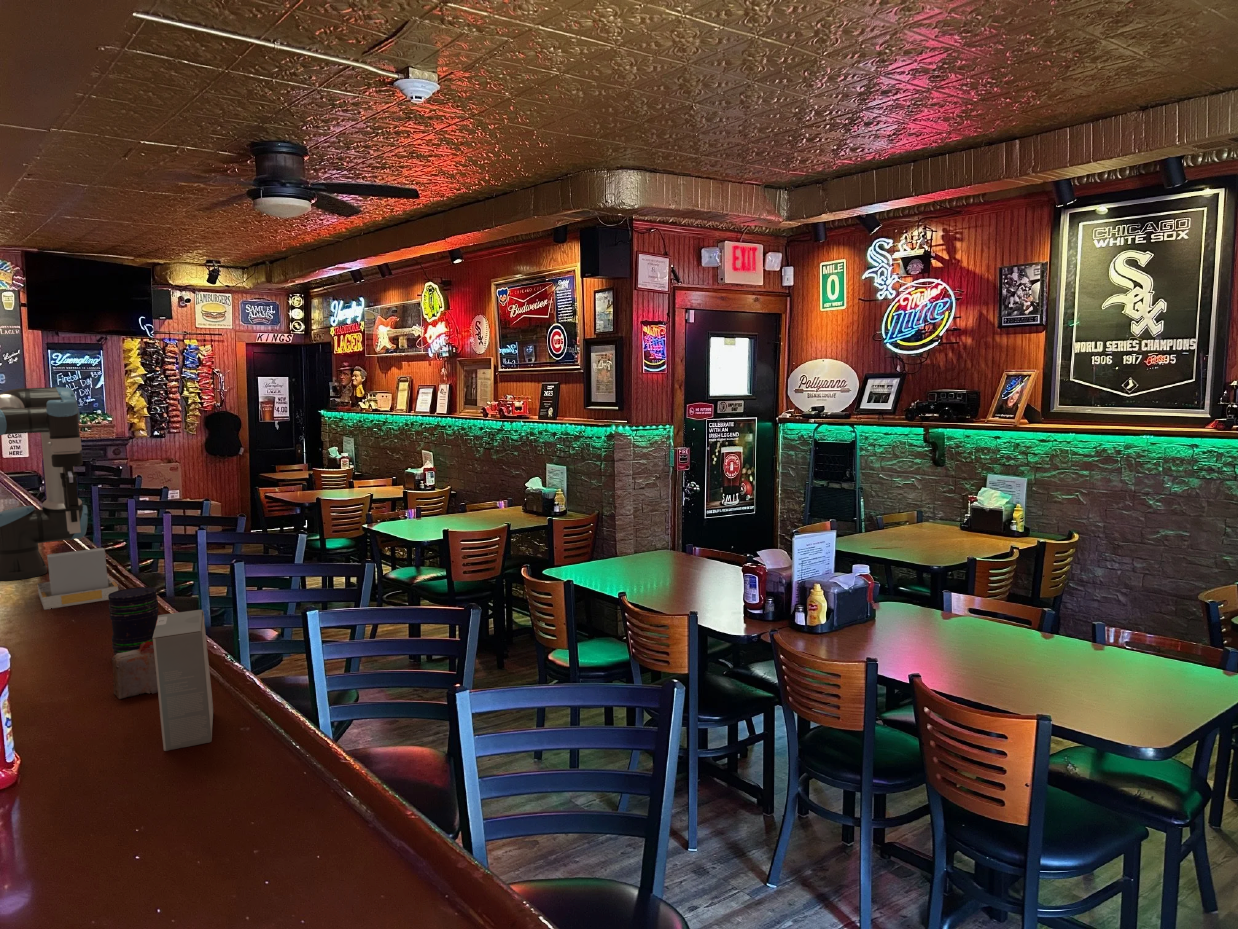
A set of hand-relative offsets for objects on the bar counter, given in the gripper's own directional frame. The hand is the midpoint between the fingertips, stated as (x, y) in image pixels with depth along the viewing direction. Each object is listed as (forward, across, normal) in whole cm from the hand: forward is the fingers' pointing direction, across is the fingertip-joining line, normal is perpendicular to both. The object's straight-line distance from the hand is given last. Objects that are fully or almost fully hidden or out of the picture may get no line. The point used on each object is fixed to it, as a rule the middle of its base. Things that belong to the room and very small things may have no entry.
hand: (74, 531), depth 250 cm
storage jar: (+21, +73, +5) cm, 76 cm away
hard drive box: (+21, +131, +5) cm, 132 cm away
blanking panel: (+20, 0, 0) cm, 20 cm away
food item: (+21, +101, +4) cm, 103 cm away
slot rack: (+21, -8, 0) cm, 22 cm away
